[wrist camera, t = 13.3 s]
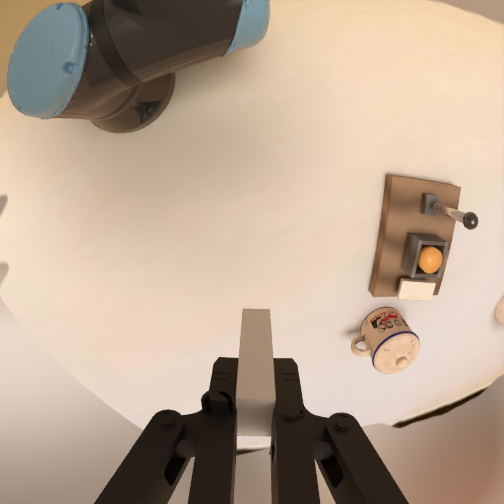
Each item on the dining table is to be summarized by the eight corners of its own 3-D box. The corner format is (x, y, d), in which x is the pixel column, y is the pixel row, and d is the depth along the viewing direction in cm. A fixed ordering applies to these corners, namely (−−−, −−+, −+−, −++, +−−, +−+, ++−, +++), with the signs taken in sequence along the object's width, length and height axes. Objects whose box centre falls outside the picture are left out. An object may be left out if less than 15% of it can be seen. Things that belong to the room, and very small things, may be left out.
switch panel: (386, 174, 41) (404, 180, 35) (452, 184, 41) (474, 192, 35) (368, 290, 48) (381, 309, 42) (431, 288, 48) (448, 305, 42)
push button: (416, 242, 41) (425, 248, 38) (435, 243, 41) (444, 249, 38) (411, 265, 42) (419, 273, 39) (430, 265, 42) (439, 273, 39)
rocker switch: (401, 278, 43) (402, 280, 43) (433, 280, 42) (435, 283, 41) (396, 295, 45) (398, 298, 44) (429, 297, 44) (431, 300, 43)
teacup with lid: (404, 302, 49) (432, 338, 39) (397, 340, 53) (419, 377, 42) (346, 311, 50) (365, 352, 39) (342, 349, 53) (357, 392, 42)
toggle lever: (430, 198, 37) (473, 214, 29) (440, 199, 38) (482, 214, 30) (428, 214, 38) (470, 232, 30) (437, 214, 39) (479, 231, 31)
